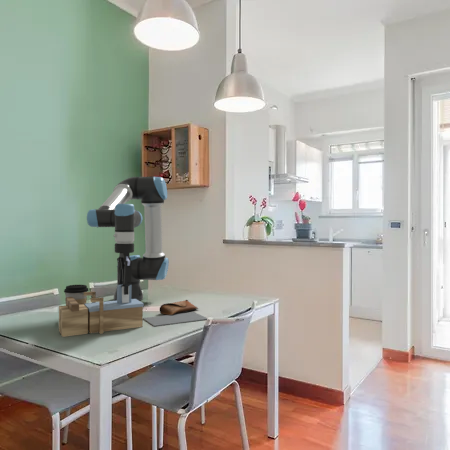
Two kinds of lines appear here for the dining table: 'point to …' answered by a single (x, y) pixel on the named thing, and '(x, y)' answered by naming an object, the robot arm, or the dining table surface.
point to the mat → (174, 319)
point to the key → (72, 304)
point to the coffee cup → (76, 293)
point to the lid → (115, 302)
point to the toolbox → (97, 318)
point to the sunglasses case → (177, 307)
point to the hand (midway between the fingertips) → (124, 301)
